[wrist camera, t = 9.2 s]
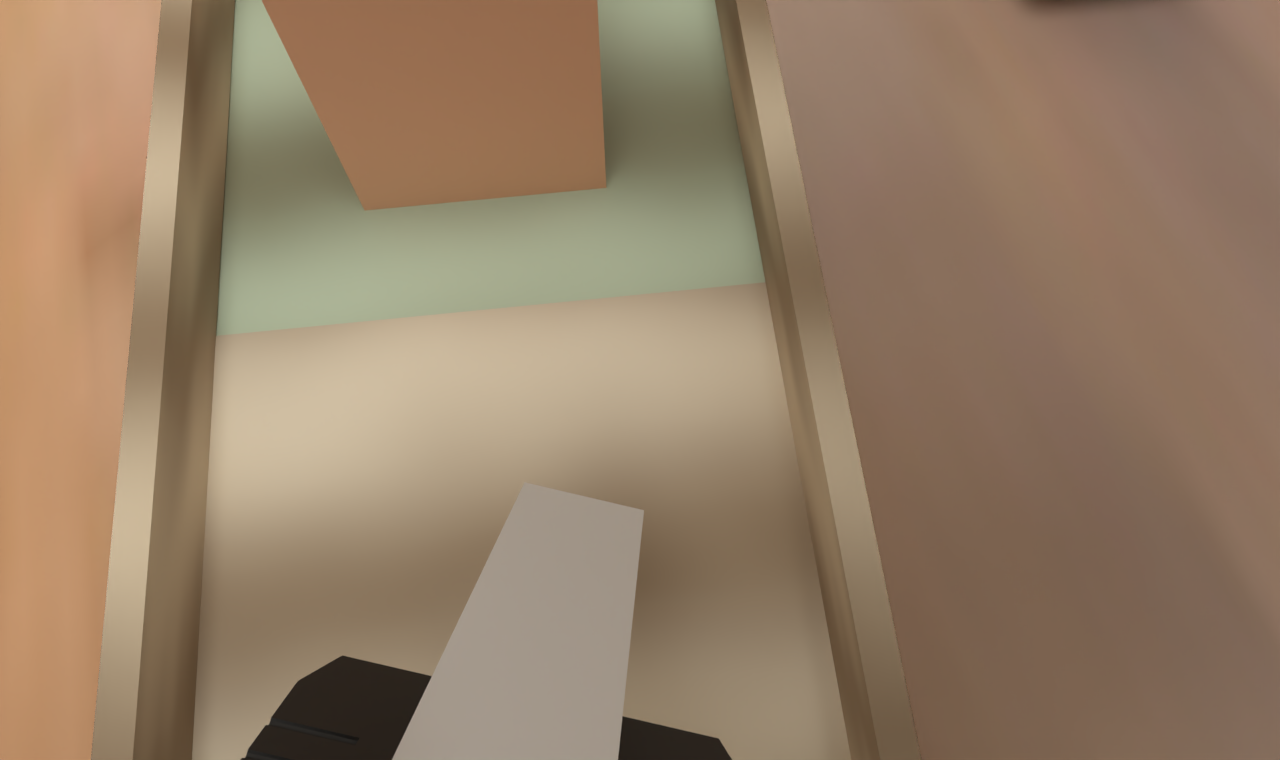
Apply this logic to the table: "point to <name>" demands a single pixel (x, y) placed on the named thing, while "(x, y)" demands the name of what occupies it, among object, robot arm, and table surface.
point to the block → (452, 94)
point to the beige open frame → (487, 402)
